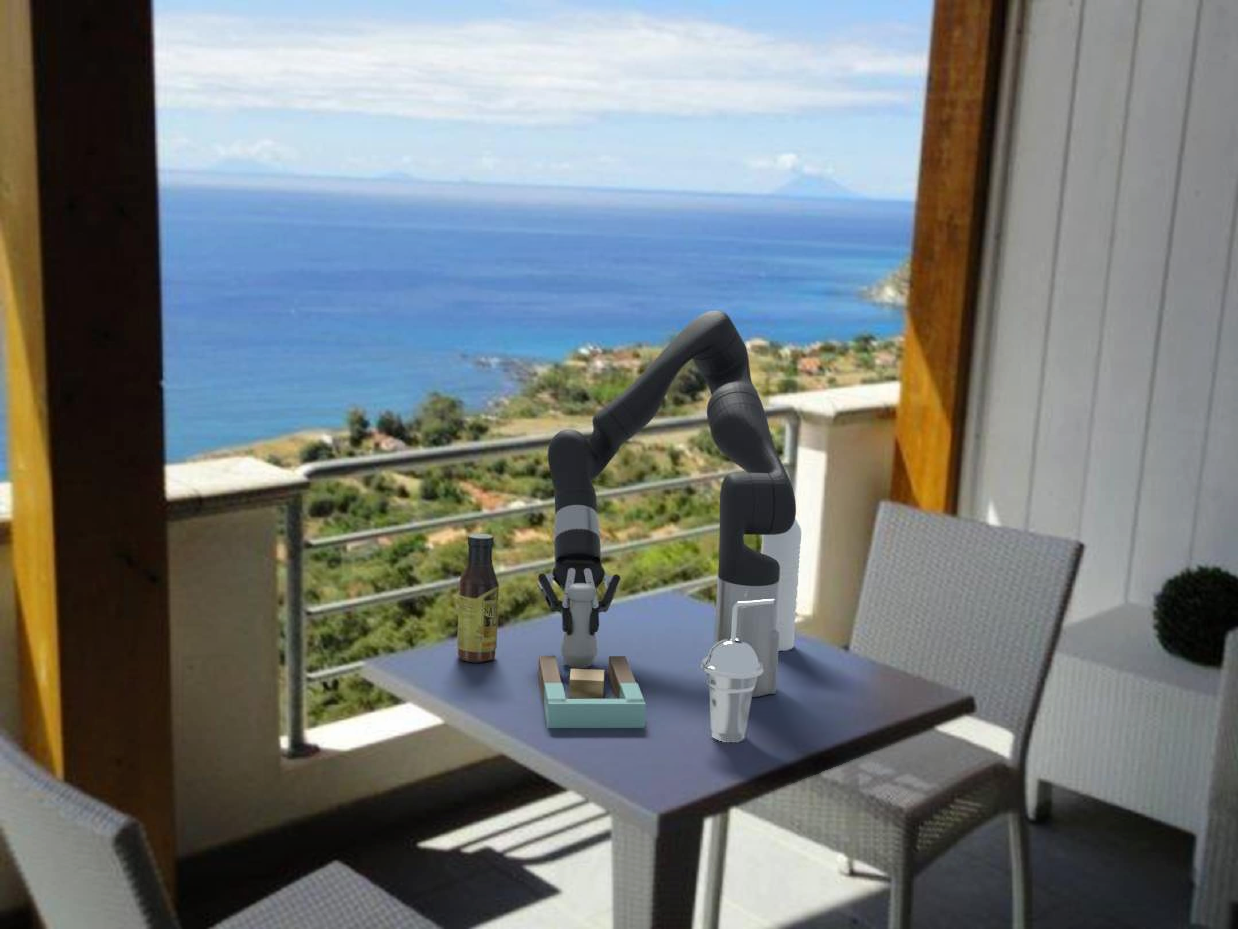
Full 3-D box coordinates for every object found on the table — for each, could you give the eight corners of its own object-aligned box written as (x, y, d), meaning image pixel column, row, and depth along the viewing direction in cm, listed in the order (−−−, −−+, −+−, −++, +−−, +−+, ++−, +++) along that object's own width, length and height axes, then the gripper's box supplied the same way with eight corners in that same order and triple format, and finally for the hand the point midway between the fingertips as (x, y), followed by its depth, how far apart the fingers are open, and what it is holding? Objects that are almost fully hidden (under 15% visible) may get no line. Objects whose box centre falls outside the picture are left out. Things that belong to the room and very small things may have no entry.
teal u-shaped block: (636, 706, 189) (637, 683, 189) (644, 728, 181) (645, 703, 180) (543, 706, 188) (544, 683, 187) (547, 728, 179) (548, 703, 179)
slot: (624, 674, 203) (625, 656, 203) (636, 706, 189) (637, 686, 189) (538, 674, 201) (538, 655, 201) (543, 706, 188) (544, 686, 187)
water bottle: (754, 639, 225) (763, 496, 220) (792, 641, 224) (802, 498, 220) (756, 654, 216) (766, 506, 212) (796, 657, 216) (806, 508, 212)
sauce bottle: (489, 666, 204) (493, 542, 201) (451, 662, 205) (454, 538, 202) (501, 653, 211) (505, 533, 207) (464, 649, 212) (467, 530, 208)
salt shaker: (603, 663, 208) (607, 584, 206) (583, 672, 203) (587, 591, 201) (573, 656, 211) (576, 578, 209) (553, 664, 206) (556, 585, 204)
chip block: (603, 689, 197) (604, 670, 196) (602, 700, 192) (603, 680, 191) (570, 687, 197) (570, 668, 196) (568, 699, 192) (569, 679, 191)
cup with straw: (720, 721, 185) (728, 584, 182) (774, 738, 179) (783, 597, 176) (684, 736, 179) (692, 594, 175) (739, 755, 173) (748, 608, 170)
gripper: (617, 551, 218) (622, 644, 208) (532, 550, 216) (534, 644, 206) (622, 527, 212) (628, 622, 202) (535, 526, 210) (537, 621, 200)
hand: (580, 632), depth 204 cm, fingers closed on salt shaker, 3 cm apart
